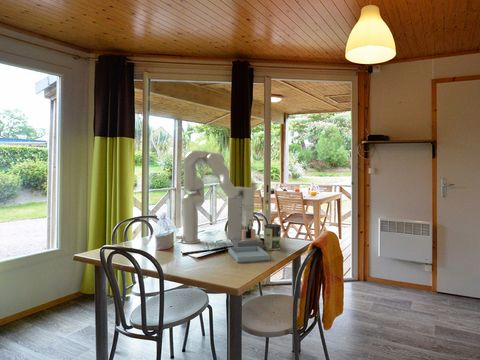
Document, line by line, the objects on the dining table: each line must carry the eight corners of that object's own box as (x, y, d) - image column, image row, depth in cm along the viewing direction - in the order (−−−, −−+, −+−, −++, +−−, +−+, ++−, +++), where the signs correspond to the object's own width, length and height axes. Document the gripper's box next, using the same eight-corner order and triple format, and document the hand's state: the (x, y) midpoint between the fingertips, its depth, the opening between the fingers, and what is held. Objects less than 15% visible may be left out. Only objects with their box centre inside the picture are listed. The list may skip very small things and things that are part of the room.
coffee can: (281, 246, 211) (281, 224, 210) (279, 250, 201) (280, 227, 200) (265, 245, 213) (265, 223, 212) (262, 249, 203) (263, 226, 202)
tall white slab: (227, 239, 228) (228, 195, 227) (230, 237, 234) (230, 194, 232) (247, 241, 224) (248, 196, 223) (249, 239, 230) (250, 195, 228)
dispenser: (237, 251, 198) (237, 241, 197) (232, 246, 209) (232, 237, 209) (263, 249, 202) (263, 240, 202) (256, 245, 213) (257, 236, 213)
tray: (237, 262, 175) (237, 257, 175) (228, 252, 194) (228, 247, 194) (269, 260, 180) (269, 255, 180) (257, 251, 199) (258, 246, 199)
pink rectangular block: (243, 247, 203) (243, 230, 203) (241, 245, 206) (241, 229, 206) (255, 246, 205) (255, 230, 205) (254, 244, 208) (254, 229, 208)
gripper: (238, 206, 211) (238, 234, 212) (245, 209, 195) (245, 240, 196) (250, 205, 213) (249, 234, 214) (258, 209, 197) (257, 240, 198)
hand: (247, 237), depth 205 cm, fingers closed on pink rectangular block, 2 cm apart
